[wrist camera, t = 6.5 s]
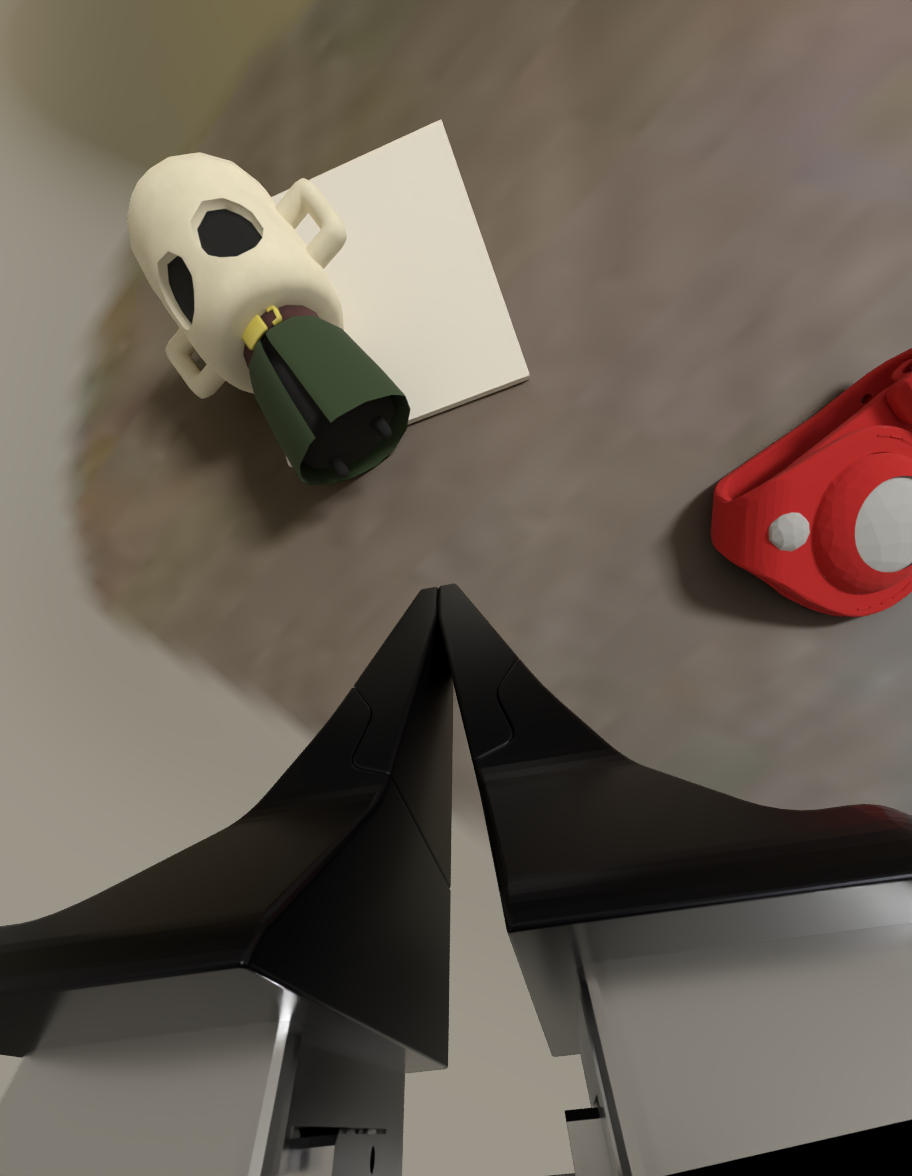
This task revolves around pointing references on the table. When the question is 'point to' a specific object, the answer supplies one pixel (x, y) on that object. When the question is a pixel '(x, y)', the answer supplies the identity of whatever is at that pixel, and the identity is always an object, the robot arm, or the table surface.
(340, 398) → the character mug
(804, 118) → the table surface
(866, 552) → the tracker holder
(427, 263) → the oatmeal mat
